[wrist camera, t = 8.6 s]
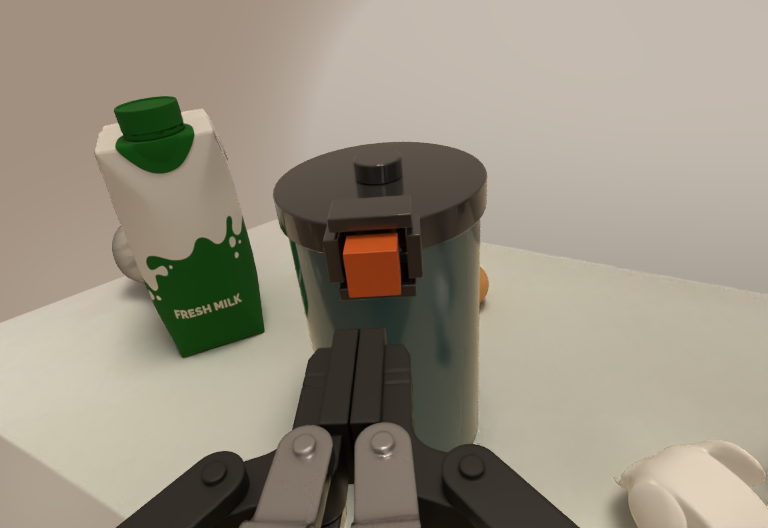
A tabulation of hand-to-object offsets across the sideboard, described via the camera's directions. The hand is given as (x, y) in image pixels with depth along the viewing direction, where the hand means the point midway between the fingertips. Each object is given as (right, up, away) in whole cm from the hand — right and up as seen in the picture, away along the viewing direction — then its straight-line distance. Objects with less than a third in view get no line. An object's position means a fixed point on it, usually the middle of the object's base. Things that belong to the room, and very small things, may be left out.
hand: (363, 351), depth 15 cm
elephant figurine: (+16, -12, +10) cm, 22 cm away
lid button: (0, +2, +5) cm, 5 cm away
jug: (+2, -8, +19) cm, 21 cm away
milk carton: (-14, -3, +31) cm, 34 cm away
